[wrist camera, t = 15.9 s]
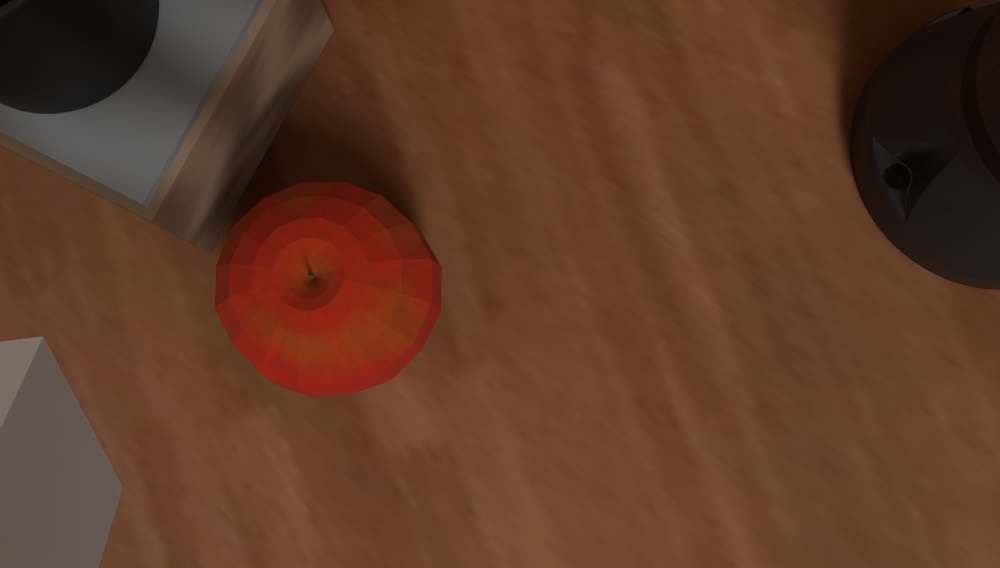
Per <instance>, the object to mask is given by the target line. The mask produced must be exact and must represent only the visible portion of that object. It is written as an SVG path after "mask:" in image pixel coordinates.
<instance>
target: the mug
mask: <svg viewBox="0 0 1000 568" xmlns="http://www.w3.org/2000/svg"><path fill="white" fill-rule="evenodd" d="M158 16H159V0H0V103H1V104H3V105H5V106H8V107H10V108H13V109H17V110H20V111H24V112H30V113H37V114H58V113H64V112H70V111H75V110H79V109H82V108H85V107H89V106H91V105H93V104H96V103H98V102H100V101H102V100H104V99H106V98H107V97H109V96H110V95H112V94H113V93H115V92H116V91H118V90H119V89H120V88H121V87H122V86H123V85H125V84H126V83H127V82H128V81H129V80H130V79H131V78H132V77H133V75H134V74H135V73H136V72H137V71H138V69H139V68H140V67H141V65H142V64H143V62H144V60H145V58H146V57H147V55H148V53H149V51H150V49H151V46H152V44H153V41H154V38H155V34H156V30H157V25H158Z"/></svg>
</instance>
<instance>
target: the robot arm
mask: <svg viewBox="0 0 1000 568" xmlns="http://www.w3.org/2000/svg"><path fill="white" fill-rule="evenodd" d="M852 161H853V168H854V172H855V177H856V181H857V184H858V187H859V190H860V193H861V195H862V198H863V200H864V202H865V204H866V207H867V208H868V210H869V212H870V214H871V216H872V217H873V219H874V220H875V222H876V223H877V225H878V226H879V228H880V229H881V230H882V232H883V233H884V234H885V235H886V236H887V238H888V239H889V240H890V241H891V242H892V243H893V244H894V245H895V246H896V247H897V248H898V249H899V250H900V251H901V252H903V253H904V254H905V255H906V256H907V257H909V258H910V259H911V260H913V261H914V262H915V263H917V264H918V265H920V266H922V267H923V268H925V269H926V270H928V271H930V272H932V273H934V274H936V275H938V276H940V277H943V278H945V279H948V280H950V281H953V282H956V283H959V284H963V285H967V286H972V287H976V288H984V289H996V290H1000V1H995V2H986V3H980V4H975V5H971V6H967V7H963V8H960V9H957V10H954V11H951V12H949V13H946V14H944V15H942V16H940V17H938V18H936V19H934V20H932V21H931V22H929V23H927V24H925V25H924V26H922V27H921V28H919V29H918V30H917V31H915V32H914V33H913V34H911V35H910V36H909V37H908V38H907V39H906V40H904V41H903V42H902V43H901V44H900V45H899V46H898V47H897V48H895V49H894V50H893V51H892V52H891V53H890V54H889V55H888V56H887V57H886V58H885V59H884V60H883V61H882V63H881V64H880V65H879V66H878V67H877V69H876V70H875V71H874V73H873V74H872V76H871V78H870V79H869V81H868V83H867V84H866V86H865V88H864V90H863V92H862V95H861V97H860V100H859V103H858V106H857V109H856V113H855V117H854V122H853V128H852ZM122 488H123V487H122V485H121V483H120V481H119V479H118V477H117V476H116V474H115V472H114V470H113V468H112V466H111V464H110V462H109V460H108V458H107V457H106V455H105V453H104V451H103V449H102V447H101V445H100V443H99V441H98V439H97V438H96V436H95V434H94V432H93V430H92V428H91V426H90V424H89V422H88V420H87V419H86V417H85V415H84V413H83V411H82V409H81V407H80V405H79V403H78V401H77V400H76V398H75V396H74V394H73V392H72V390H71V388H70V386H69V384H68V382H67V381H66V379H65V377H64V375H63V373H62V371H61V369H60V367H59V365H58V363H57V362H56V360H55V358H54V356H53V354H52V352H51V350H50V348H49V346H48V344H47V343H46V341H45V339H44V337H35V338H27V339H19V340H12V341H4V342H0V568H99V565H100V561H101V558H102V555H103V551H104V548H105V545H106V541H107V538H108V535H109V531H110V528H111V525H112V521H113V518H114V515H115V511H116V508H117V505H118V501H119V498H120V495H121V491H122Z"/></svg>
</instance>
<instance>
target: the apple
mask: <svg viewBox="0 0 1000 568" xmlns="http://www.w3.org/2000/svg"><path fill="white" fill-rule="evenodd" d="M441 270H442V267H441V265H440V264H439V262H438V260H437V258H436V257H435V255H434V253H433V252H432V250H431V248H430V247H429V245H428V243H427V241H426V240H425V238H424V236H423V235H422V233H421V231H420V230H419V229H418V228H417V227H416V226H415V225H413V224H412V223H411V222H410V221H409V220H408V219H407V218H406V217H405V216H404V215H402V214H401V213H400V212H399V211H398V210H397V209H396V208H395V207H393V206H392V205H391V204H390V203H389V202H388V201H387V200H386V199H385V198H383V197H382V196H381V195H379V194H376V193H373V192H371V191H368V190H365V189H362V188H359V187H356V186H353V185H351V184H348V183H345V182H301V183H299V184H296V185H294V186H292V187H289V188H287V189H284V190H282V191H280V192H277V193H275V194H272V195H270V196H268V197H265V198H263V199H262V200H261V201H260V202H259V203H258V204H257V205H256V206H254V207H253V208H252V209H251V210H250V211H249V212H248V213H247V214H246V215H245V216H244V217H242V218H241V219H240V220H239V221H238V222H237V223H236V224H235V225H234V226H233V227H232V229H231V231H230V234H229V236H228V239H227V241H226V243H225V246H224V248H223V251H222V253H221V256H220V258H219V261H218V263H217V265H216V290H215V309H216V311H217V313H218V315H219V317H220V319H221V321H222V323H223V325H224V327H225V329H226V331H227V333H228V335H229V337H230V339H231V341H232V343H233V345H234V346H235V347H236V348H237V349H238V350H239V351H240V352H241V353H242V354H243V355H244V356H245V357H246V358H247V359H248V360H249V361H250V362H251V363H252V364H253V365H254V366H255V367H256V368H257V369H258V370H259V371H260V372H261V373H262V374H263V375H264V376H265V377H266V378H267V379H268V380H270V381H271V382H272V383H275V384H277V385H280V386H283V387H285V388H288V389H291V390H293V391H296V392H299V393H301V394H304V395H307V396H310V397H319V396H332V395H345V394H354V393H357V392H359V391H362V390H365V389H367V388H370V387H373V386H376V385H378V384H381V383H384V382H387V381H389V380H392V379H393V378H394V377H395V376H396V375H397V374H398V373H399V372H400V371H401V370H402V369H403V368H404V367H405V366H406V365H407V364H408V363H409V362H410V361H411V360H412V359H413V358H414V357H415V356H416V355H417V354H418V353H419V352H420V351H421V350H422V348H423V346H424V344H425V342H426V340H427V338H428V336H429V334H430V332H431V329H432V327H433V325H434V323H435V321H436V319H437V317H438V315H439V313H440V310H441Z"/></svg>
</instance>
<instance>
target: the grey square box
mask: <svg viewBox="0 0 1000 568" xmlns="http://www.w3.org/2000/svg"><path fill="white" fill-rule="evenodd" d="M333 31H334V29H333V26H332V24H331V22H330V20H329V17H328V15H327V13H326V11H325V8H324V6H323V4H322V2H321V0H159V16H158V25H157V30H156V34H155V38H154V41H153V44H152V46H151V49H150V51H149V53H148V55H147V57H146V58H145V60H144V62H143V64H142V65H141V67H140V68H139V69H138V71H137V72H136V73H135V74H134V75H133V77H132V78H131V79H130V80H129V81H128V82H127V83H126V84H125V85H123V86H122V87H121V88H120V89H119V90H118V91H116V92H115V93H113V94H112V95H110V96H109V97H107V98H106V99H104V100H102V101H100V102H98V103H96V104H93V105H91V106H89V107H85V108H82V109H79V110H75V111H70V112H64V113H58V114H37V113H30V112H24V111H20V110H17V109H13V108H10V107H8V106H5V105H3V104H1V103H0V145H1V146H3V147H5V148H7V149H9V150H11V151H13V152H15V153H17V154H19V155H21V156H23V157H24V158H26V159H28V160H30V161H32V162H34V163H36V164H38V165H40V166H42V167H44V168H46V169H48V170H50V171H52V172H54V173H56V174H58V175H60V176H62V177H63V178H65V179H67V180H69V181H71V182H73V183H75V184H77V185H79V186H81V187H83V188H85V189H87V190H89V191H91V192H93V193H95V194H97V195H99V196H101V197H103V198H104V199H106V200H108V201H110V202H112V203H114V204H116V205H118V206H120V207H122V208H124V209H126V210H128V211H130V212H132V213H134V214H136V215H138V216H140V217H142V218H143V219H145V220H147V221H149V222H151V223H153V224H155V225H157V226H159V227H161V228H163V229H165V230H167V231H169V232H171V233H173V234H175V235H177V236H179V237H181V238H183V239H184V240H186V241H188V242H190V243H192V244H194V245H196V246H198V247H200V248H202V249H204V250H206V251H208V252H211V250H212V249H213V247H214V245H215V243H216V241H217V240H218V238H219V236H220V234H221V232H222V231H223V229H224V227H225V225H226V223H227V222H228V220H229V218H230V216H231V214H232V213H233V211H234V209H235V207H236V205H237V204H238V202H239V200H240V198H241V196H242V195H243V193H244V191H245V189H246V187H247V186H248V184H249V182H250V180H251V178H252V177H253V175H254V173H255V171H256V169H257V168H258V166H259V164H260V162H261V160H262V159H263V157H264V155H265V153H266V151H267V150H268V148H269V146H270V144H271V142H272V141H273V139H274V137H275V135H276V133H277V132H278V130H279V128H280V126H281V124H282V123H283V121H284V119H285V117H286V115H287V114H288V112H289V110H290V108H291V106H292V105H293V103H294V101H295V99H296V97H297V96H298V94H299V92H300V90H301V88H302V87H303V85H304V83H305V81H306V79H307V78H308V76H309V74H310V72H311V70H312V69H313V67H314V65H315V63H316V61H317V60H318V58H319V56H320V54H321V52H322V51H323V49H324V47H325V45H326V43H327V42H328V40H329V38H330V36H331V34H332V33H333Z"/></svg>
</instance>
